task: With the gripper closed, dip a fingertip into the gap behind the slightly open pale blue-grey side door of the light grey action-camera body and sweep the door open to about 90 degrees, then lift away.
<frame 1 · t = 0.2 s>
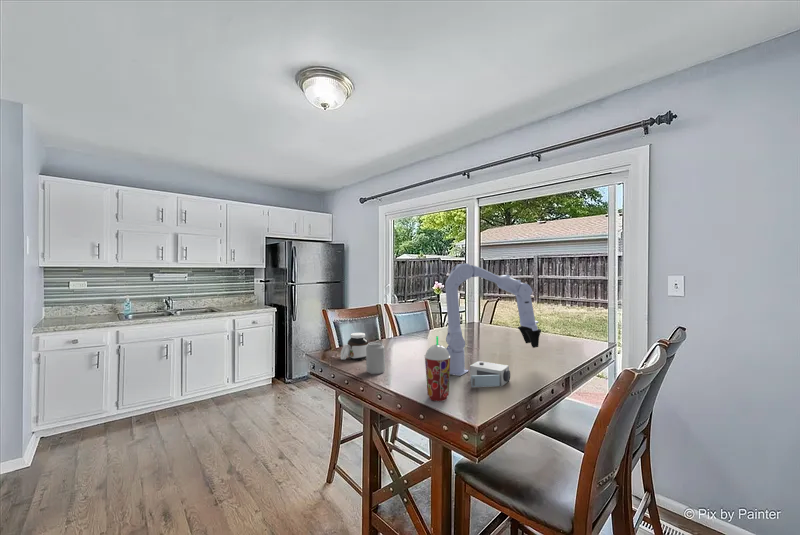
hand: (531, 345, 138), 10 cm above the table, tool pointing down, fingers open, 7 cm apart
spread jar: (353, 359, 160), on the table
side door: (486, 381, 119), point 2 cm above the table, hinge at 40.0°
can: (375, 372, 139), on the table
smoothie: (438, 398, 110), on the table
camera body: (489, 380, 127), on the table
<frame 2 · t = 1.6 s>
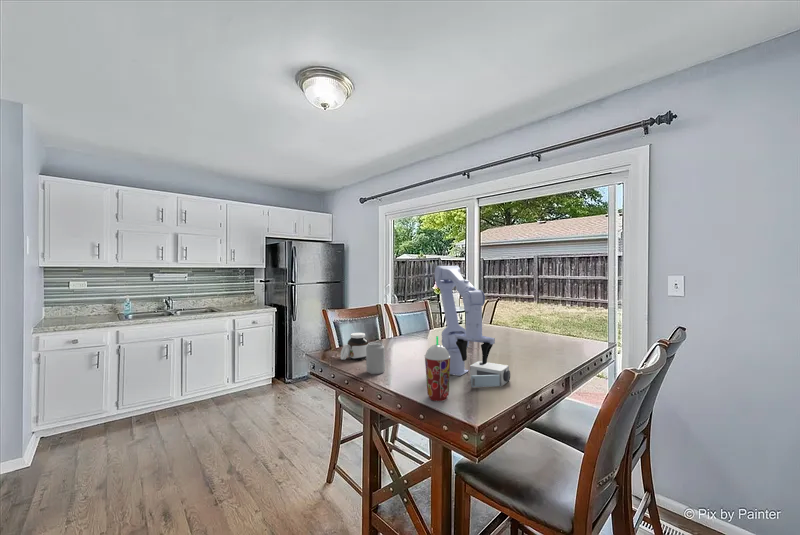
hand: (474, 362, 122), 8 cm above the table, tool pointing down, fingers open, 7 cm apart
nothing on the table moved.
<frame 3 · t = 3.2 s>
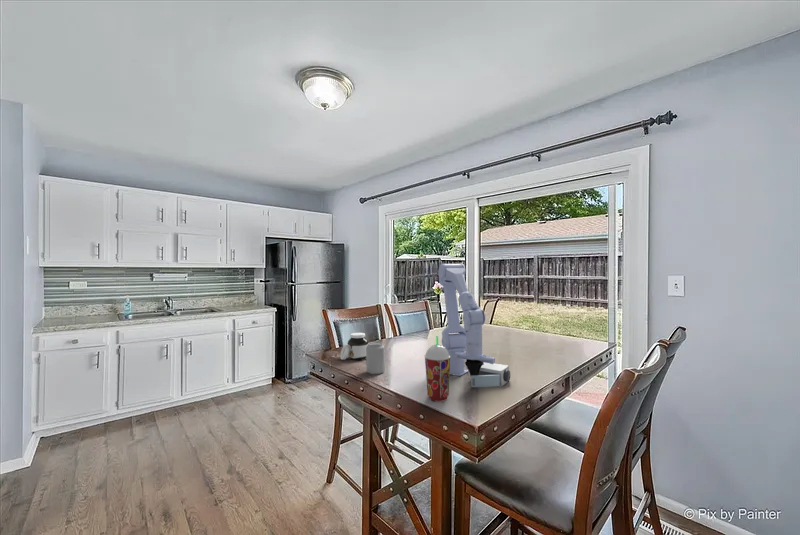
hand: (474, 381, 121), 2 cm above the table, tool pointing down, fingers closed
side door: (486, 381, 119), point 2 cm above the table, hinge at 40.2°, touching gripper
everything else where it was.
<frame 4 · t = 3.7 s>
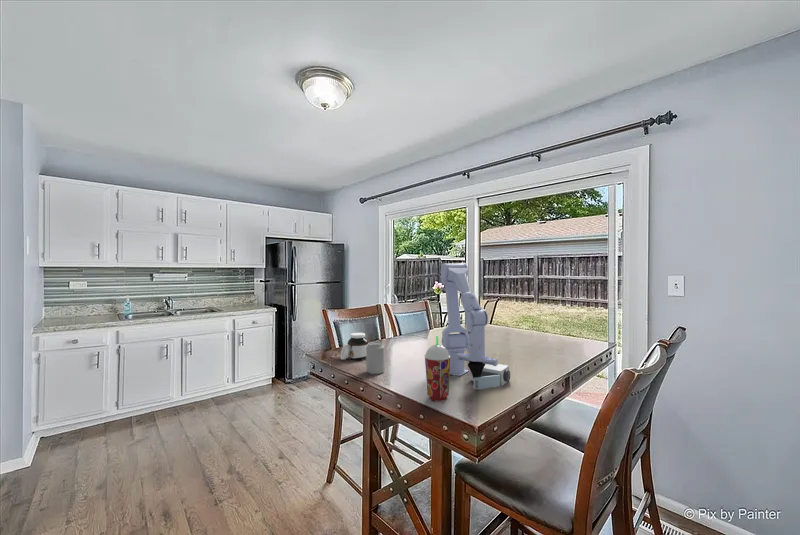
hand: (476, 383, 119), 2 cm above the table, tool pointing down, fingers closed
side door: (488, 382, 118), point 2 cm above the table, hinge at 54.3°, touching gripper
everything else where it was.
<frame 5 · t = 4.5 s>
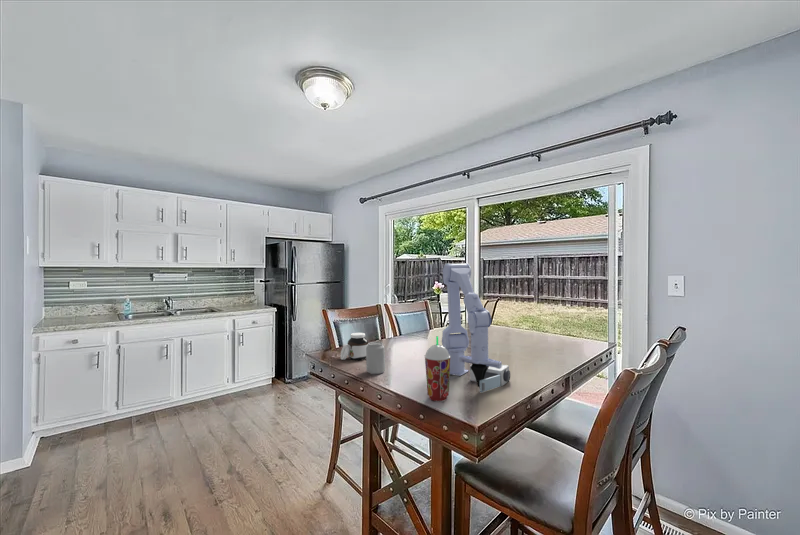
hand: (480, 385, 116), 2 cm above the table, tool pointing down, fingers closed
side door: (491, 383, 117), point 2 cm above the table, hinge at 72.2°, touching gripper
everything else where it was.
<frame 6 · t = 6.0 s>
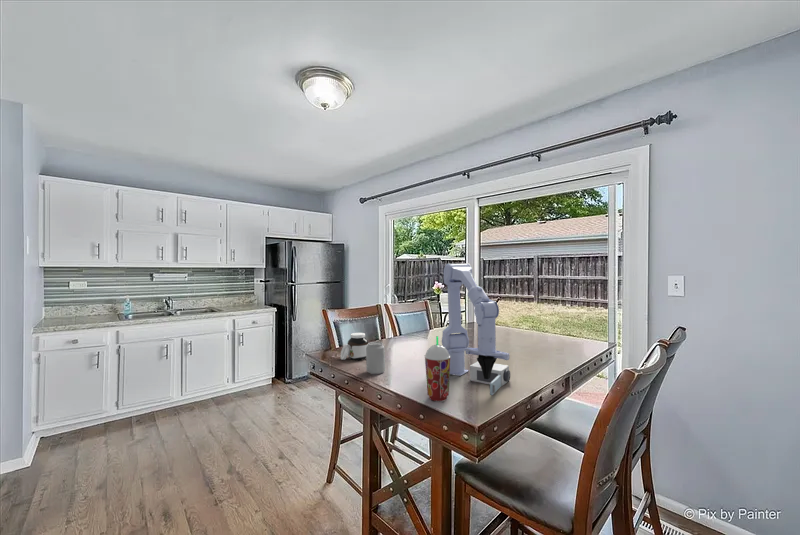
hand: (487, 378, 114), 5 cm above the table, tool pointing down, fingers closed
side door: (496, 384, 115), point 2 cm above the table, hinge at 94.2°
everything else where it was.
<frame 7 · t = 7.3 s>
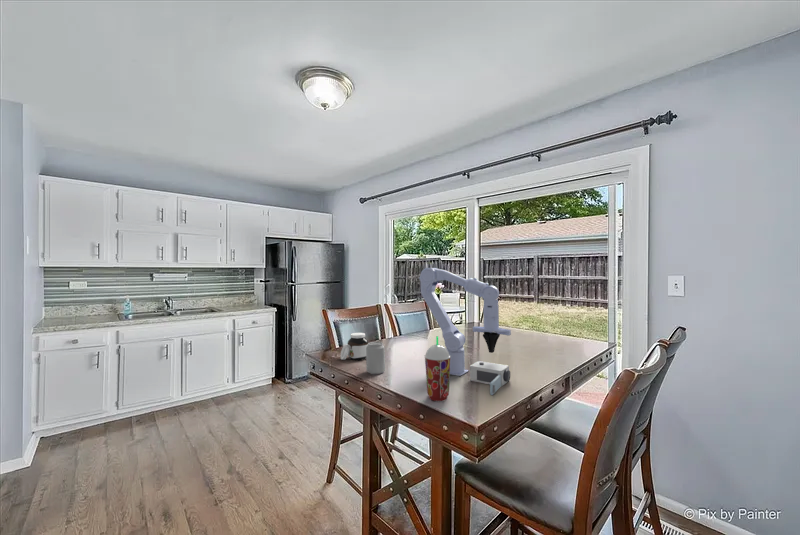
hand: (491, 352, 132), 9 cm above the table, tool pointing down, fingers closed
nothing on the table moved.
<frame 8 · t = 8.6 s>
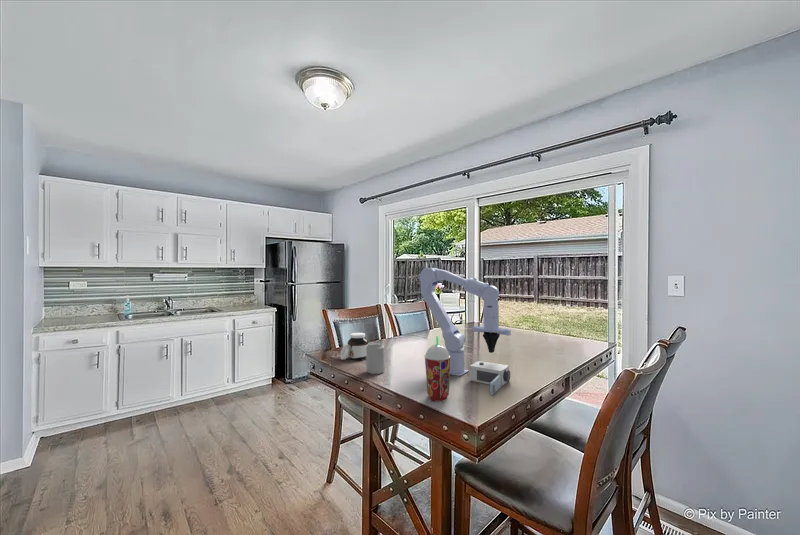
hand: (491, 352, 132), 9 cm above the table, tool pointing down, fingers closed
nothing on the table moved.
at the end: side door at +94° (first picture: +40°); smoothie moved 0.2 cm from its start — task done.
